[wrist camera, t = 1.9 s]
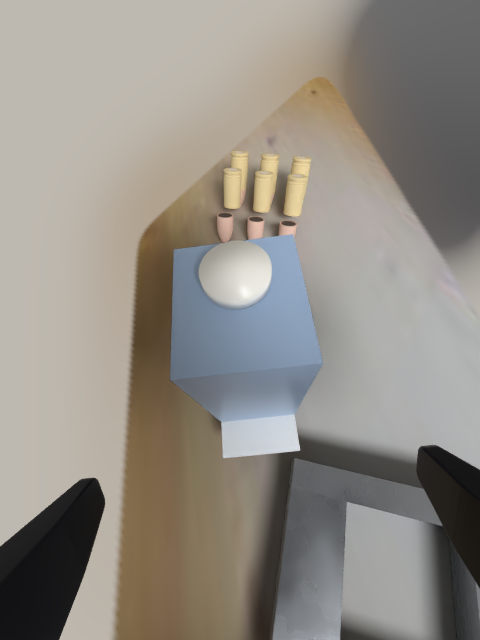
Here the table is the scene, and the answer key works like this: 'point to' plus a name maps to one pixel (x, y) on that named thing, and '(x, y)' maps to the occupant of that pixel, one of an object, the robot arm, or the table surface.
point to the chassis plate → (328, 550)
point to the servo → (244, 339)
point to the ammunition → (262, 193)
